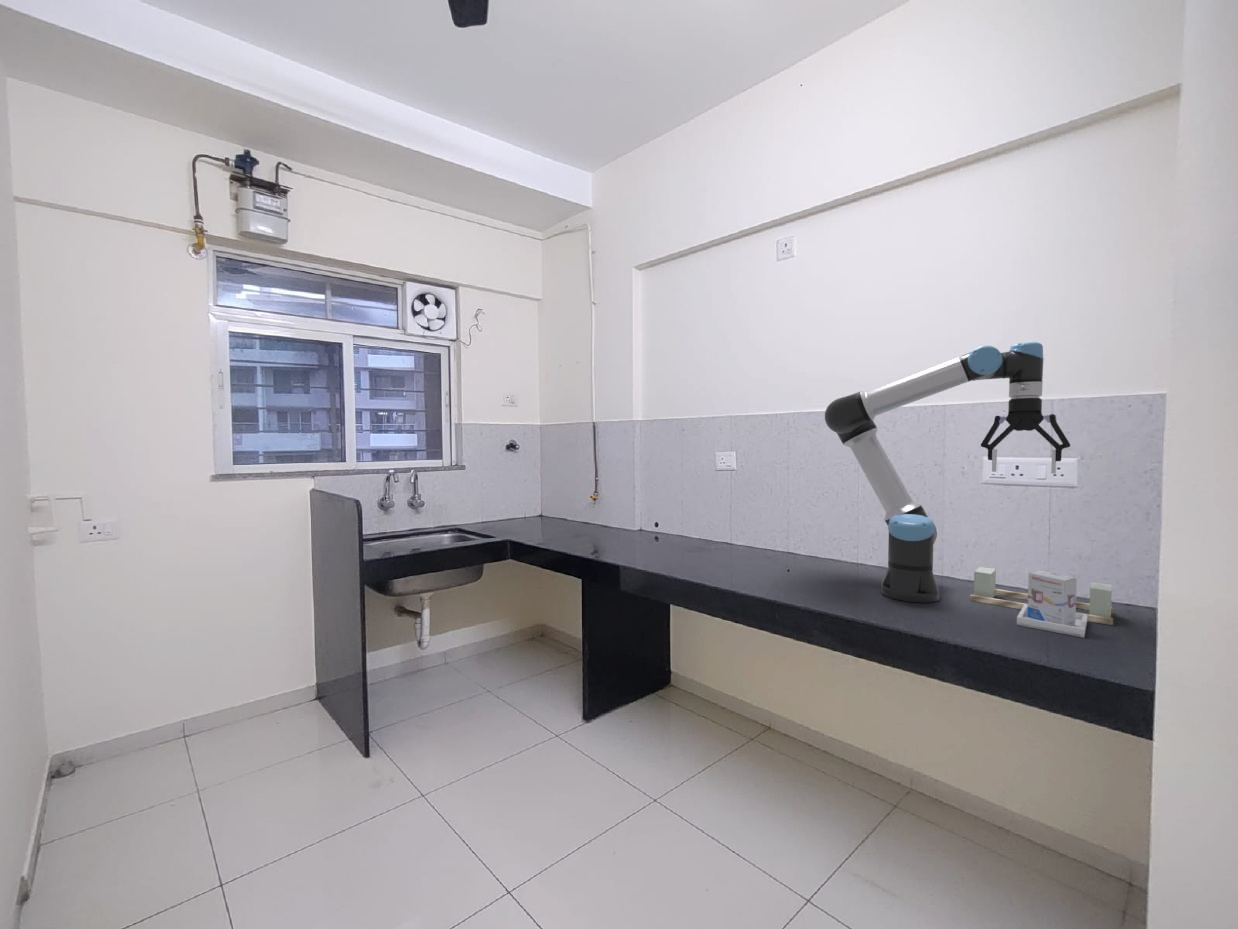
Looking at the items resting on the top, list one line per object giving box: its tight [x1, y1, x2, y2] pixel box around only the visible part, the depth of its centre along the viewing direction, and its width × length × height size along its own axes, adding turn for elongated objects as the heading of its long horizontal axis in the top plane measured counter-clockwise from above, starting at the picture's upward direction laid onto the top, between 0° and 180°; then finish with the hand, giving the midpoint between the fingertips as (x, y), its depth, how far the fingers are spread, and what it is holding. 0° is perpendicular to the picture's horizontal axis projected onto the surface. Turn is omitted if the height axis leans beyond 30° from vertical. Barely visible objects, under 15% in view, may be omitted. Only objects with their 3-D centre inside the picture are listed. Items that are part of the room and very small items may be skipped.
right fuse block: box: [1088, 581, 1113, 618], centre depth 137 cm, size 4×8×8 cm, turn 136°
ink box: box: [1027, 569, 1078, 626], centre depth 132 cm, size 9×5×12 cm, turn 21°
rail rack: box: [969, 588, 1114, 626], centre depth 145 cm, size 30×13×2 cm, turn 46°
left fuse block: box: [973, 566, 997, 598], centre depth 154 cm, size 4×8×8 cm, turn 136°
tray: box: [1016, 603, 1089, 639], centre depth 132 cm, size 13×15×2 cm
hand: (1022, 472), depth 151 cm, fingers open, 13 cm apart
